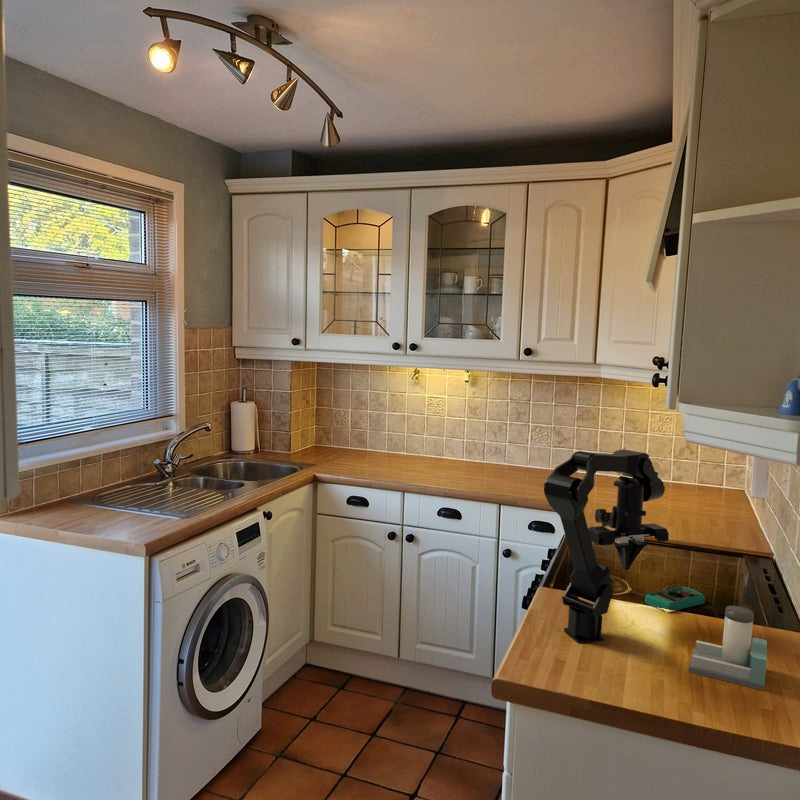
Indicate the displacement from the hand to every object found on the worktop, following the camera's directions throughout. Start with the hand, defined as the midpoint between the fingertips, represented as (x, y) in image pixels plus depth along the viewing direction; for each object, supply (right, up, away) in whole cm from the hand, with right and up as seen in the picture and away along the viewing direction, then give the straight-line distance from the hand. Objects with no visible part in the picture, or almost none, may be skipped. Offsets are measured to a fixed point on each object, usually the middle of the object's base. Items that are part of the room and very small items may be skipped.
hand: (625, 569), depth 157 cm
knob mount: (+13, -15, -22) cm, 30 cm away
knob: (+14, -13, -23) cm, 30 cm away
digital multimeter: (+17, -12, +12) cm, 24 cm away
